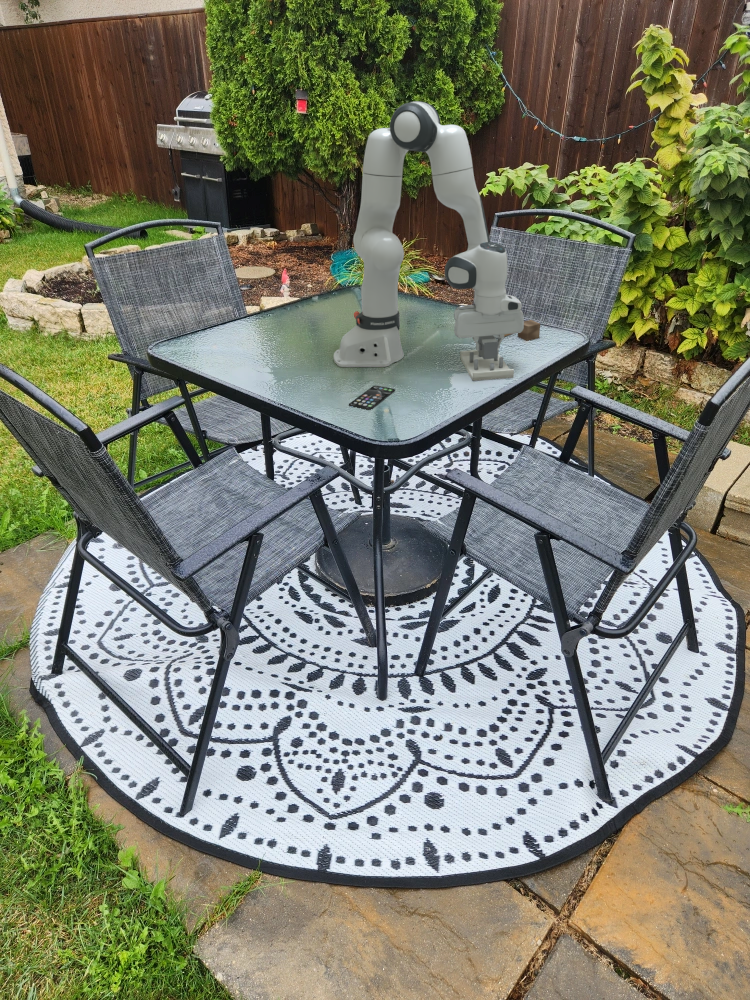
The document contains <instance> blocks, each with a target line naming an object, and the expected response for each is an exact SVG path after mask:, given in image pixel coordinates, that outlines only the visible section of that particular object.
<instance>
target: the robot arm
mask: <svg viewBox="0 0 750 1000" xmlns="http://www.w3.org/2000/svg"><path fill="white" fill-rule="evenodd" d="M469 144H470V143H469V140H468V137H467V133H466V131H465V130H464V128H463V127H461V126H459V125H457V124H445V125H443V124H441V119H440V115H439V113H438V111H437V109H436V108H435V107H434V106H433V105H432V104H430V103H427V102H424V101H420V100H419V101H417V100H414V101H410V102H406V103H404V104H401V105H400V106H399V107H398V108H396V109H395V111H394V112H393V114H392V116H391V118H390V122H389V127H379V128H377V129H375V130H373V131H371V132H370V134H368V137H367V141H366V146H365V150H364V157H363V164H362V179H361V180H362V182H361V197H360V198H361V199H360V208H359V212H358V217H357V221H356V228H355V231H354V234H353V238H352V240H353V247H354V250H355V253H356V254H357V255H358V257H359V258H361V259H362V261H363V276H362V277H363V278H362V284H361V287H360V294H361V295H360V296H361V297H360V298H361V312H360V311H357V310H356V311H355V312H354V313H353V318H354V319H355V325H354V327H352V328H351V329H350V330H349V331H347V332H346V333H345V334H343V336H342V337H341V340H340V345H339V348H338V349H336V350H335V351H334V353H333V361H334V364H335V363H336V364H337V366H339V368H384V367H385V368H386V367H388V366H391V364H393V363H395V362H396V363H397V362H398V361H401V360H402V359H403V358H404V356H405V353H404V350H403V346H402V343H401V336H400V329H401V328H400V327H401V316H400V315H401V314H400V310H399V306H398V305H399V304H398V303H399V300H398V293H399V291H398V287H399V286H398V285H399V277H400V270H401V265H402V263H403V261H404V257H405V251H404V247H403V245H402V242H401V240H400V239H399V237H398V236H397V235H396V234H395V233H393V230H394V229H393V227H394V223H395V219H396V216H397V212H398V210H399V208H400V206H401V198H402V197H401V194H402V183H403V172H404V171H403V170H404V160H405V157H406V155H407V153H408V152H409V151H411V152H412V151H413V152H420V153H426V154H427V156H428V158H429V162H430V169H431V175H432V177H431V178H432V184H433V186H432V187H433V190H434V193H435V196H436V199H437V200H438V201H439V202H440V203H441V204H442V205H443V206H445V207H447V208H449V209H452V210H455V211H456V212H457V213H458V214H459V215H460V216H461V219H462V220H463V225H464V229H465V234H466V235H465V236H466V238H467V239H466V240H467V243H468V245H467V250H466V251H464V252H460V253H458V254H455V255H453V256H452V257H450V258H449V259H448V260H447V261H446V263H445V266H444V277H445V280H446V282H447V284H449V286H450V287H451V288H452V289H455V290H468V289H473V290H474V300H473V301H474V303H473V304H472V303H471V304H466V305H465V304H464V305H463V304H462V305H459V306H458V307H456V308H455V309H454V312H453V318H454V325H453V329H454V330H453V332H454V335H455V337H456V338H457V339H467V338H468V339H469V338H472V339H473V341H474V343H475V350H477V351H479V350H482V344H481V343H478V340H479V337H480V336H491V335H498V336H499V338H497V341H498V349H499V350H500V348H501V344H502V342H503V340H504V338H505V337H504V334H511V335H513V334H518V333H521V332H522V331H523V329H524V321H525V317H524V313H523V311H522V310H521V309H522V307H523V304H522V303H523V302H521V301H520V300H519V299H518V297H516V296H513V295H509V294H507V288H506V282H507V278H508V255H507V250H506V248H505V246H503V245H501V244H500V243H497V242H491V239H490V235H489V230H488V226H487V225H488V224H487V220H486V215H485V209H484V205H483V200H482V197H481V195H480V193H479V191H478V188H477V184H476V180H475V176H474V175H475V174H474V165H473V158H472V154H471V148H470V145H469ZM336 364H335V365H336Z"/></svg>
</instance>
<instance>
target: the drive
mask: <svg viewBox="0 0 750 1000" xmlns="http://www.w3.org/2000/svg"><path fill="white" fill-rule="evenodd" d="M497 340H498V338H495V337H494V336H493V335H491V336H480V337H479V340H477V342H478V343H481V344H482V350H479V351H478V352H479V353H480V355H481V356H482V357H483V359H494V358H497V351H498V341H497Z"/></svg>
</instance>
